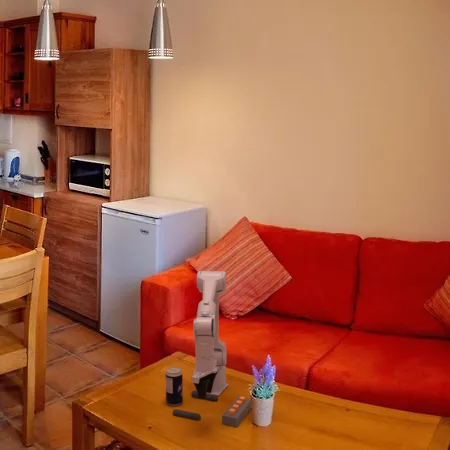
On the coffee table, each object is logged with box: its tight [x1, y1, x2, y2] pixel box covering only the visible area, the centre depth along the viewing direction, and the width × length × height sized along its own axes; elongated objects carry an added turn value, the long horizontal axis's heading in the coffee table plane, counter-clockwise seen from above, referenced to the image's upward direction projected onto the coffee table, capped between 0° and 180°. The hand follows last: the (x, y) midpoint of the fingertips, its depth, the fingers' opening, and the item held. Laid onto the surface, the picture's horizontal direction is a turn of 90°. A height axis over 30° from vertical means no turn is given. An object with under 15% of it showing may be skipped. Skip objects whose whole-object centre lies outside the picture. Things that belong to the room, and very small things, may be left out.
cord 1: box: [172, 408, 202, 421], centre depth 200 cm, size 2×10×2 cm, turn 68°
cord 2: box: [190, 390, 219, 402], centre depth 213 cm, size 2×10×2 cm, turn 67°
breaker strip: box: [221, 396, 251, 428], centre depth 201 cm, size 14×5×4 cm, turn 157°
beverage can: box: [165, 366, 184, 407], centre depth 209 cm, size 6×6×12 cm
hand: (205, 395), depth 193 cm, fingers open, 4 cm apart
